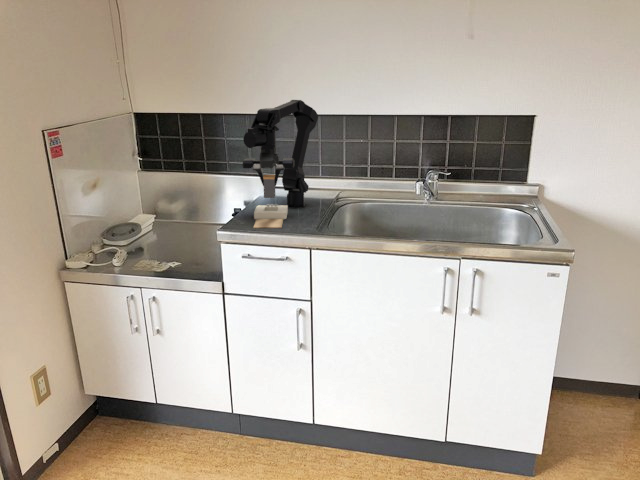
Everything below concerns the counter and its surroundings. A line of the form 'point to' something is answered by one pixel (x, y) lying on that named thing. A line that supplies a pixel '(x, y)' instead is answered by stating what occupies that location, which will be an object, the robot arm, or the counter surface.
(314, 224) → the counter surface
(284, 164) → the robot arm
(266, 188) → the plug
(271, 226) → the cork pad
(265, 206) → the block
